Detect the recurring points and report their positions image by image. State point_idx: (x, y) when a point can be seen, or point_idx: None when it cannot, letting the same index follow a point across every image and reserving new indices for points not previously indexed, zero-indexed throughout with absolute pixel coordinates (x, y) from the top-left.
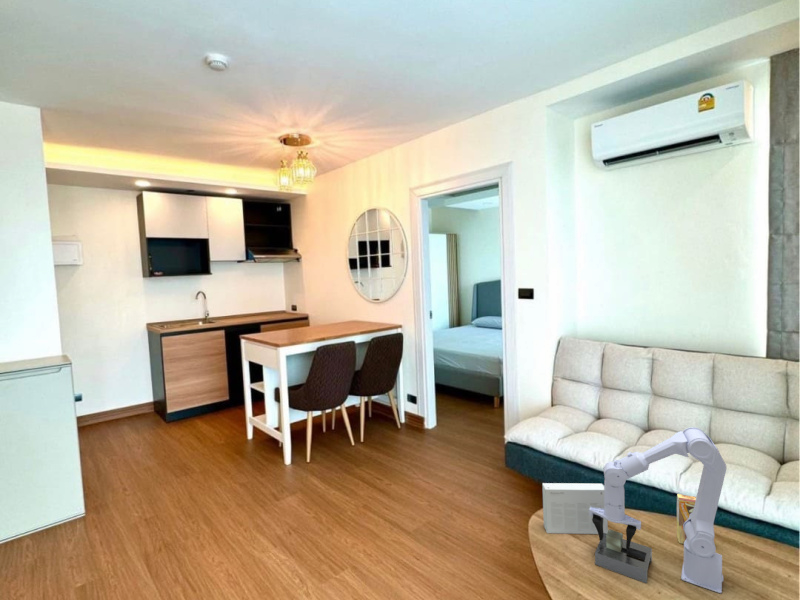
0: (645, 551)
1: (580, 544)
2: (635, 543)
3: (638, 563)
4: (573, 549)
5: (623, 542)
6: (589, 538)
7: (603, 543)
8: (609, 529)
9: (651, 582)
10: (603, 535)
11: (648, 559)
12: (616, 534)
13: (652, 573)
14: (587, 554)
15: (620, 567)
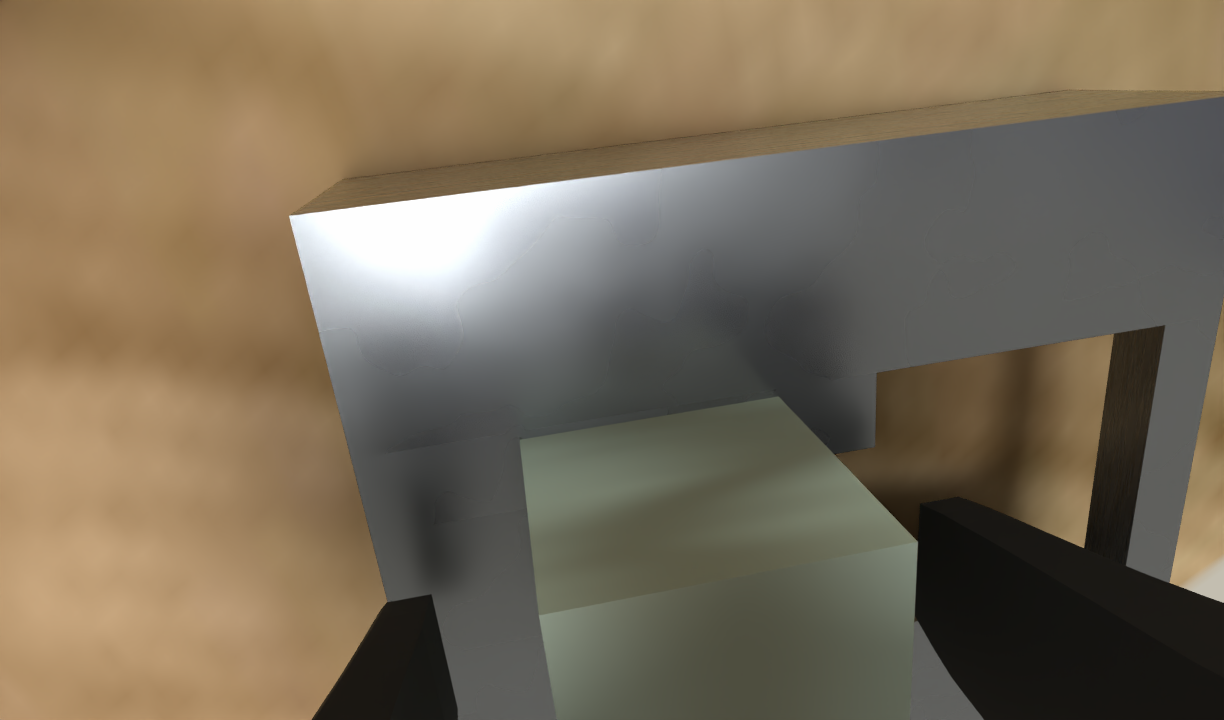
0: (1149, 292)
1: (58, 460)
2: (980, 152)
3: None
4: (64, 638)
5: (770, 289)
6: (58, 180)
7: (465, 583)
8: (558, 627)
9: (1060, 537)
10: (346, 336)
11: (1183, 477)
12: (783, 696)
13: (1071, 379)
14: (283, 598)
15: None
